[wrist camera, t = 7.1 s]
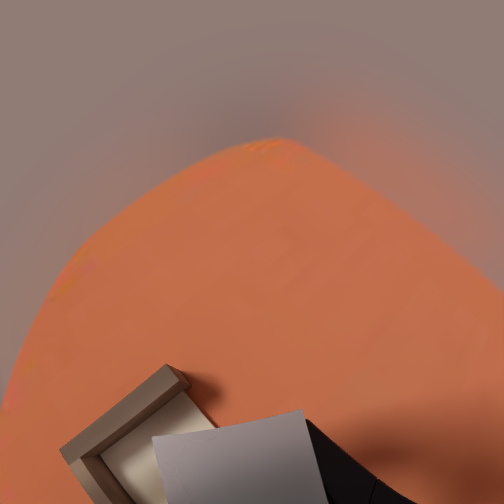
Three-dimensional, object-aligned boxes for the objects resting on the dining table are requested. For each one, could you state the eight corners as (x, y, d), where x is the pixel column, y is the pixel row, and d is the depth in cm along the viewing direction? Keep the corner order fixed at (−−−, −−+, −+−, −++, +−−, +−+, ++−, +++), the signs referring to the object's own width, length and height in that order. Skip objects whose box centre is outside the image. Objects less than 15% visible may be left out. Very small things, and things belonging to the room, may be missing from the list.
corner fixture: (306, 501, 16) (309, 513, 14) (187, 574, 13) (176, 589, 10) (179, 370, 22) (165, 363, 20) (80, 449, 19) (59, 449, 16)
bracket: (308, 480, 12) (360, 620, 1) (194, 500, 12) (33, 597, 1) (289, 412, 14) (302, 408, 3) (177, 433, 14) (-20, 430, 3)
